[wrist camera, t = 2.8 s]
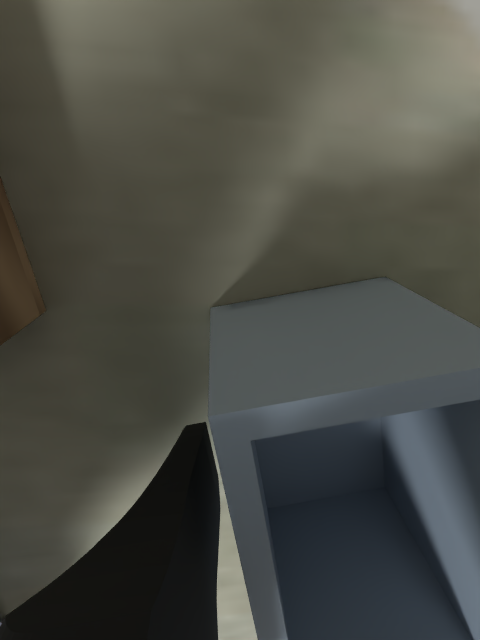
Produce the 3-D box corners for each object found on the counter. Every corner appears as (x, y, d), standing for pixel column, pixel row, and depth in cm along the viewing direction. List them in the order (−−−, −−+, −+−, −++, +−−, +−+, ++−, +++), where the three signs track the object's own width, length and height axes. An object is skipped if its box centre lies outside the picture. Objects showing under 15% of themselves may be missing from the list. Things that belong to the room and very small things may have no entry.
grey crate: (395, 485, 15) (507, 672, 9) (251, 511, 15) (274, 715, 9) (385, 276, 12) (535, 358, 7) (210, 307, 12) (207, 416, 6)
